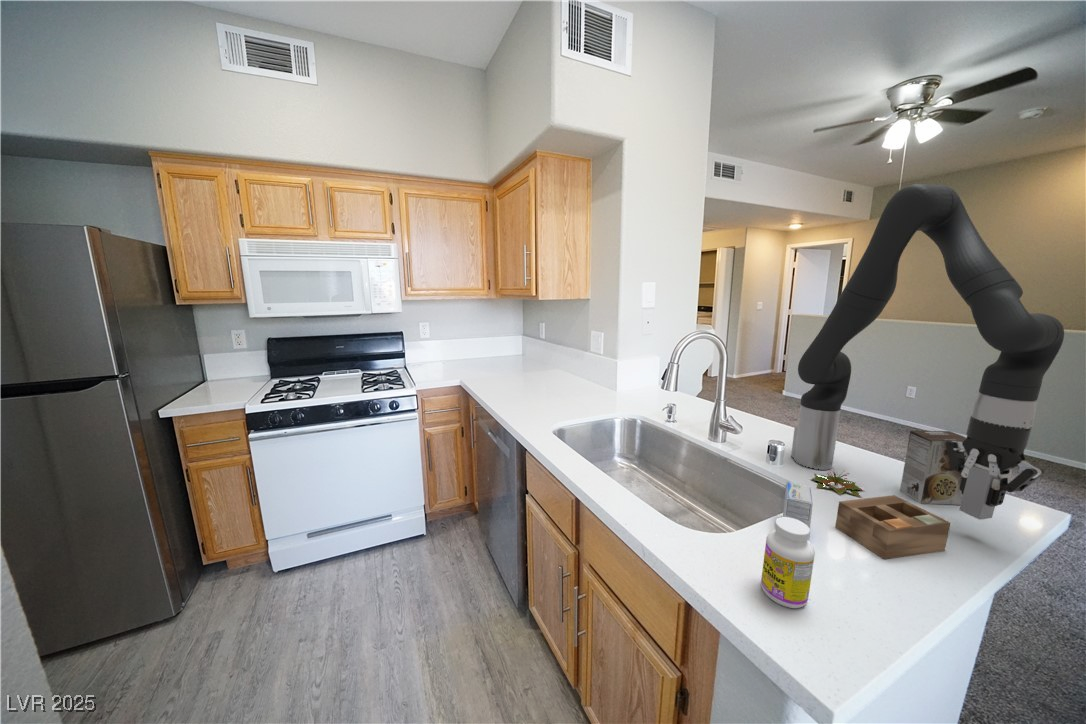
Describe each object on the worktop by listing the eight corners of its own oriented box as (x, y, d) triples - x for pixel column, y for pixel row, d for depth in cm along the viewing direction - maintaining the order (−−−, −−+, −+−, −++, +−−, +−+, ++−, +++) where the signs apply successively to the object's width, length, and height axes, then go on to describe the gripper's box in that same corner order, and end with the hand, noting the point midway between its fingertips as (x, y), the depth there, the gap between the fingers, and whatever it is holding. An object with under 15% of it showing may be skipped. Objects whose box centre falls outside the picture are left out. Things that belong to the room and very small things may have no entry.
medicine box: (808, 543, 75) (813, 503, 74) (782, 535, 78) (786, 497, 76) (806, 522, 82) (811, 486, 80) (782, 516, 84) (786, 480, 83)
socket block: (835, 526, 80) (839, 500, 79) (890, 520, 82) (894, 493, 81) (884, 559, 70) (889, 529, 69) (944, 550, 73) (951, 521, 71)
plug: (959, 510, 77) (971, 462, 75) (971, 508, 77) (983, 461, 75) (979, 519, 74) (992, 470, 72) (991, 517, 74) (1005, 468, 72)
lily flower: (806, 472, 105) (808, 456, 105) (861, 483, 99) (864, 467, 98) (809, 491, 95) (811, 474, 95) (870, 504, 89) (873, 487, 88)
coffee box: (937, 491, 94) (950, 430, 91) (963, 505, 88) (977, 440, 85) (898, 489, 95) (909, 429, 92) (920, 504, 88) (933, 439, 85)
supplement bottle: (752, 580, 66) (759, 513, 63) (787, 577, 66) (796, 511, 64) (778, 612, 59) (788, 539, 57) (818, 609, 60) (828, 536, 57)
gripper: (940, 407, 78) (923, 483, 81) (1038, 434, 64) (1012, 523, 68) (969, 405, 79) (951, 480, 82) (1072, 431, 65) (1044, 519, 69)
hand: (979, 499), depth 75 cm, fingers closed on plug, 3 cm apart
